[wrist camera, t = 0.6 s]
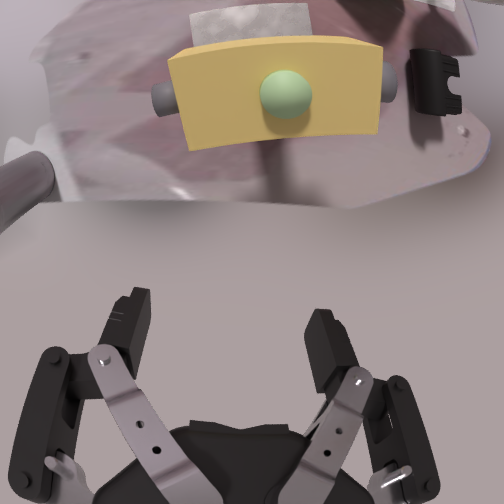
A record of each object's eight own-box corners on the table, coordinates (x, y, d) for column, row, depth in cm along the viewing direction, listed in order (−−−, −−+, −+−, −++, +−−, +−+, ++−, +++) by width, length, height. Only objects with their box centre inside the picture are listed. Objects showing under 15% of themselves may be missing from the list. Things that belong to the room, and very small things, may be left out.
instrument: (193, 86, 29) (156, 163, 16) (184, 42, 25) (128, 73, 11) (324, 73, 28) (407, 140, 15) (322, 29, 24) (418, 54, 11)
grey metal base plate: (207, 116, 35) (201, 119, 30) (193, 19, 27) (184, 7, 22) (315, 104, 35) (327, 106, 30) (303, 8, 27) (313, -4, 22)
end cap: (400, 50, 29) (423, 47, 24) (434, 56, 29) (459, 55, 23) (406, 110, 35) (430, 115, 29) (439, 112, 34) (464, 118, 28)
